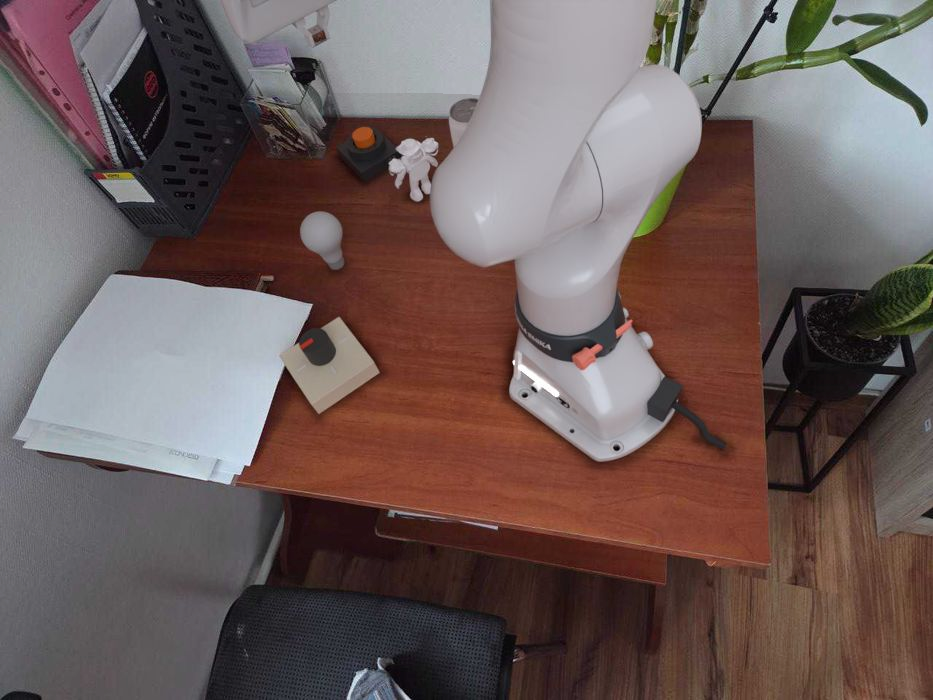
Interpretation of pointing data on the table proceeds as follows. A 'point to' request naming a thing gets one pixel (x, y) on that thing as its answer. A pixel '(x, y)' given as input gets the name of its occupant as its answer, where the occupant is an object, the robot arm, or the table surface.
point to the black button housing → (369, 155)
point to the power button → (363, 137)
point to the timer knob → (317, 346)
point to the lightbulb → (323, 237)
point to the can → (461, 117)
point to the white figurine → (415, 165)
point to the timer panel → (331, 368)
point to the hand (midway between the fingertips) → (319, 42)
